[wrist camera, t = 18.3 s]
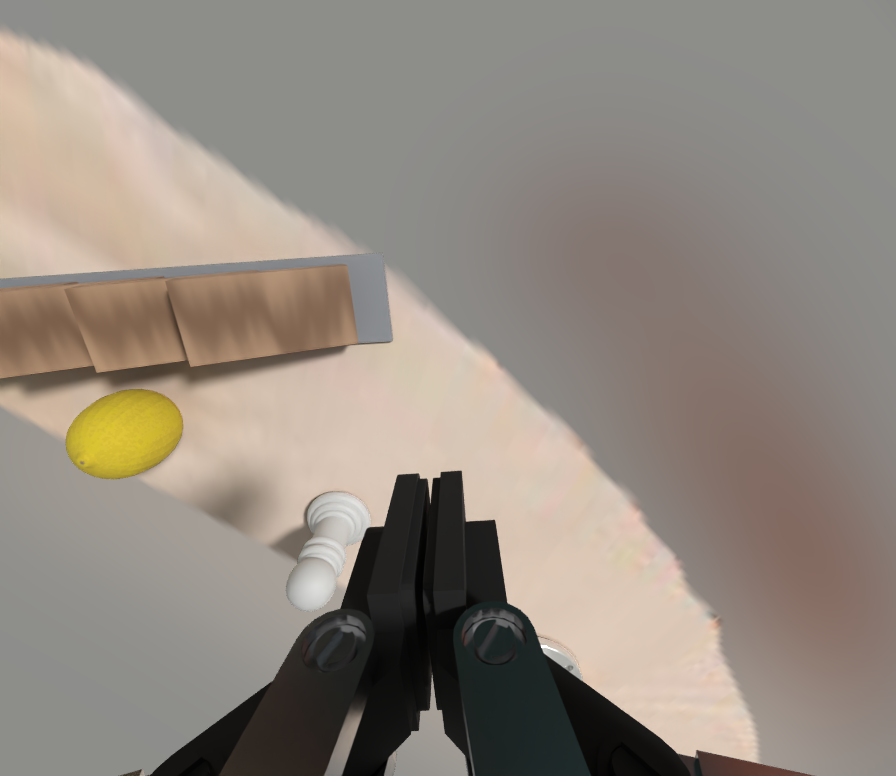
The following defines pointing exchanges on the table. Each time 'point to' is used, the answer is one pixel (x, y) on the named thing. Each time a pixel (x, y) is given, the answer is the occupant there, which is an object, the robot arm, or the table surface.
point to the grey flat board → (361, 269)
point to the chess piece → (326, 548)
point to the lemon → (124, 434)
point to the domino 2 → (128, 323)
